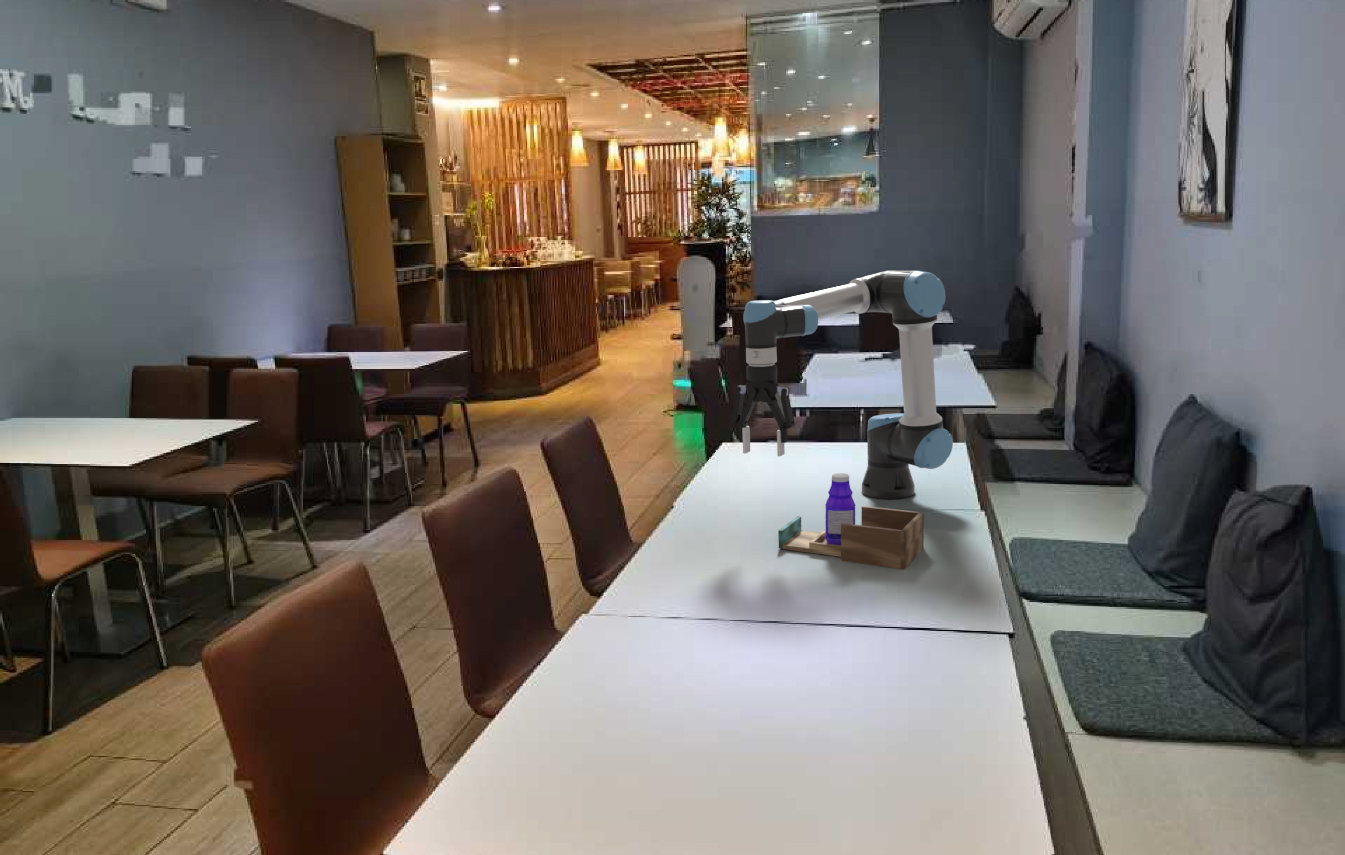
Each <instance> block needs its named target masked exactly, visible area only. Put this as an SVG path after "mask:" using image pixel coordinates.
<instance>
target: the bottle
mask: <svg viewBox="0 0 1345 855" xmlns="http://www.w3.org/2000/svg"><path fill="white" fill-rule="evenodd" d="M853 492H854V491H852V488H851V485H850V475H849V474H848V473H843V472H839V473H836V472H835V473H833V474H831V485H830V488H829V490H828V498H827V499H826V502H825V529H826V533H825V534H826V536H825V538H826V541H827V543H828V544H833V545H840V546H841V524H842V523H846V524H854V525H856V503H855V500H854V499H853Z"/></svg>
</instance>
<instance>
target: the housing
mask: <svg viewBox="0 0 1345 855" xmlns="http://www.w3.org/2000/svg"><path fill="white" fill-rule="evenodd" d="M924 515H925V514H924V512H922V511H913V510H905V509H904V510H903V509H896V508H887V507H886V508H885V507H877V506H868V505H867V506H866V505H862V506H861V524H855V525H854V524H846V523H842V524H841V558H840V561H841V562H848V563H853V564H854V563H855V564H861V565H863V564H864V565H869V566H877V567H885V568H892V569H897V570H899V569H900V570H906V569H907V568H908V566H909V565H910V564H911V563H912V561H914V559H915V558H916V557H918V555H919V554H920V553H921V551H922V550H923V549H924V541H925V540H924V538H925V537H924V536H925V535H924V533H925V532H924V531H925V530H924V529H925V528H924V527H925V526H924V522H925V519H924V518H925V516H924Z"/></svg>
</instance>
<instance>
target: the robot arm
mask: <svg viewBox="0 0 1345 855" xmlns="http://www.w3.org/2000/svg"><path fill="white" fill-rule="evenodd" d="M945 303H946V290H945V286H944V284H943V282H942V280H941V279H940V278H938V276H937V275H935V274H934V273H932V272H928V271H923V270H884V271H880V272H876V273H872V274H868V275H866V276H861V277H858V278H854V279H852V280H850V281H849V282H848V284H843V285H840V286H835V287H830V288H826V289H821V290H817V291H814V292H813V291H812V292H808V293H804V294H799V295H794V296H790V297H785V298H782V299H778V300H770V299H769V300H768V299H767V300H765V299H763V300H750V301H748V302H747V303H746V304H745V305H744V306H745V307H744V311H743V316H742V318H743V324H744V329H745V333H744V334H745V360H746V361H745V362H746V363H747V364H748V365H747V366H746V374H745V375H746V383H745V385H743V384H740V385H737V386H735V387H734V391H735V402H734V408H733V412H732V414H733V415H732V419H731V423H732V425H736V426H737V427H738V429H739V431H738V432H739V434H738V435H739V439H740V440H742V453H743V454H748V453H749V452H751V428H750V427H751V426H749V425H748V422H749V420H750V417H751V415H752V413H753V410H754V408H755V406H756V404H757V403H758V402H761V403H766V404H767V406H768V407H769V408H770V410H771V412H772V414H773V417H774V420H775V421H776V423H777V425H778V426H777V427H779V429H778V430H776V443H777V444H776V446H777V447H776V452H777V454H776V455H777V457H782V456H785V454H786V453H785V444H786V443H787V442H788V438H789V437H788V435H789V434H788V431H789V429H791V428H793V427H794V426H795V425H796V422H795V418H794V413H793V409H792V404H791V400H790V392H791V389H790V387H788V386H786V387H783V386H782V387H781V386H780V385H779V384H778V366H777V364H775V363H777V362H778V356H777V355H778V354H777V344H778V343H777V339H781V338H792V337H800V336H801V337H804V336H806V335H807V336H808V335H812V334H813V333H815V332H816V330H817V329H818V326H819V320H823V319H827V318H831V317H832V318H833V317H835V316H841V315H844V314H845V315H846V314H849V313H852V312H853V313H855V314H856V313H857V314H865V313H886V314H891V315H892V324H893V326H894V327H896V328H897V329H898V337H899V350H900V353H899V354H900V366H901V368H900V369H901V383H902V385H901V386H902V397H903V398H902V400H903V413H902V412H901V413H900V412H899V413H885V414H878V415H873V416H872V417H870V418H869V419H868V421H867V430H866V434H867V437H866V438H867V468H866V471H865V473H864V476H863V479H862V483H861V493H862V494H863V495H864V496H867V497H870V498H875V499H883V500H885V499H887V500H889V499H890V500H891V499H892V500H893V499H903V498H909V497H911V496H913V495H914V494H915V483H914V479H913V476H912V473H911V469H910V465H912V466H915V467H917V468H919V469H929V470H934V469H937V468H940V467H941V466H943V465H944V464H945V463H946V461H947V460H948V458H950V456H951V453H952V450H953V446H954V444H953V443H954V441H953V436H952V433H949V432H950V431H949V430H947V429H945V428H944V422H943V421H944V420H943V417H942V416H941V415H940V414H939V413H938V412H937V400H936V381H935V380H936V379H935V362H934V341H933V326H934V325H935V323H937V321H938V314H940V312H942V310H943V307H944V306H945ZM746 392H747V394H748V395H749V397H748V400H747V401H746V402H747V404H746V406H745V408H744V410H743V407H744V400H745V394H746ZM777 393H778V396H780V401H781V402H780V403H781V407H782V409H781V407H780V405H779V403H778V401H779V400H778V398H777V397H776V395H777Z"/></svg>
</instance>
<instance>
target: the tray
mask: <svg viewBox="0 0 1345 855" xmlns="http://www.w3.org/2000/svg"><path fill="white" fill-rule="evenodd" d="M777 532H778V549H781V550H787V551H796V552H803V553H809V554H810V553H811V554H817V555H826V556H834V557H839V558H840V557H841V546H840V545H833V544H828V543H827V541H826V538H825V536H826V534H825V533H826V528H825V529H823V531H821V532H819V531H810V530H804V529H803V530H802V516H796V517H795V518H793V519H792V520H790V521H789V522H788V523H786V524H785V525H783V526H782V527H780V529H778V531H777Z"/></svg>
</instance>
